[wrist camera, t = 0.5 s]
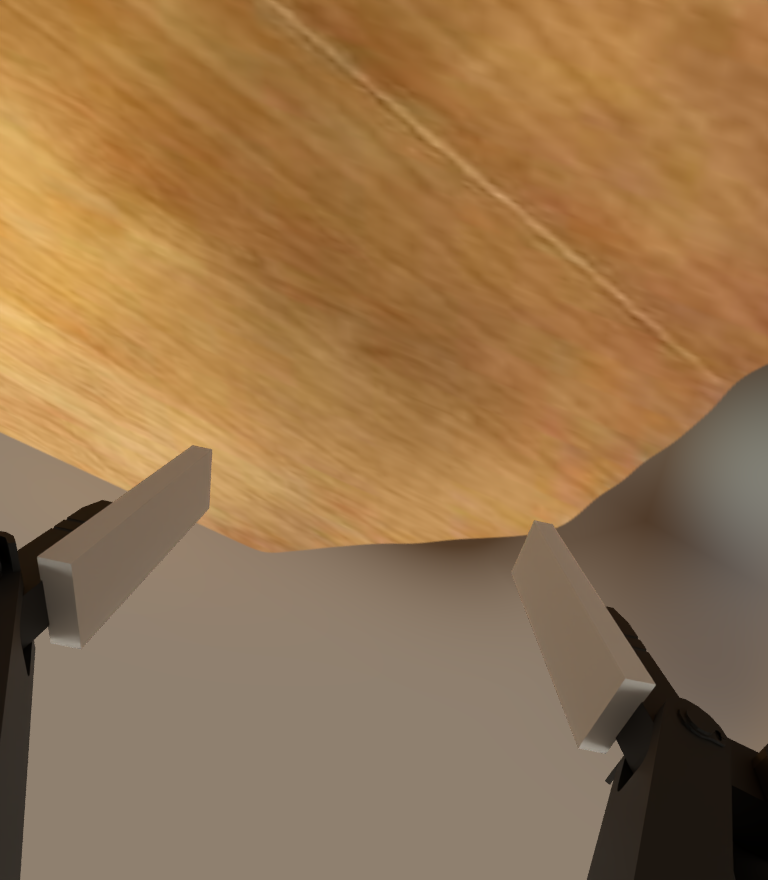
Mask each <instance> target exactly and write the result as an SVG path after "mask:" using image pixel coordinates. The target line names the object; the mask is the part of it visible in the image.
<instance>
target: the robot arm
mask: <svg viewBox="0 0 768 880" xmlns="http://www.w3.org/2000/svg"><path fill="white" fill-rule="evenodd" d="M211 462H212V449H208V448H203V447H199V446H194V445H192V446H191V447H190V448H188V449H187V450H185V451H184V452H183V453H181V454H180V455H178V456H177V457H176V458H174V459H173V460H171V461H170V462H169V463H167V464H166V465H164V466H163V467H162V468H160V469H159V470H157V471H156V472H155V473H153V474H152V475H150V476H149V477H148V478H146V479H145V480H143V481H142V482H141V483H139V484H138V485H136V486H135V487H134V488H132V489H131V490H129V491H128V492H127V493H125V494H124V495H123V496H121V497H120V498H118V499H117V500H116V501H114V502H109V501H104V500H101V501H99V502H96V503H93V504H91V505H88V506H85V507H83V508H81V509H79V510H78V511H77V512H75V513H74V514H72V515H71V516H69V517H67V520H63V521H62V522H60V523H58V524H57V525H55V526H54V528H53V529H52V528H51V529H50V530H48V531H47V532H45V533H43V534H42V535H40V536H39V537H37V538H36V539H34V540H33V541H32V542H30V543H28V544H27V545H25V546H24V547H22V548H21V549H19V550H18V551H17V547H16V542H15V539H14V536H13V535H11V534H9V533H7V532H2V531H0V880H20V871H21V857H22V842H23V827H24V810H25V796H26V781H27V766H28V751H29V736H30V720H31V705H32V689H33V675H34V660H35V645H34V639H35V638H36V637H37V636H38V635H39V634H40V633H42V632H43V631H44V630H45V629H46V628H47V627H48V629H49V635H50V641H51V643H53V644H58V645H63V646H68V647H73V648H78V649H82V648H83V647H84V645H85V644H86V643H87V642H88V641H89V640H90V639H91V638H92V637H93V636H94V635H95V633H96V632H97V631H98V630H99V629H100V628H101V627H102V626H103V625H104V624H105V622H106V621H107V620H108V619H109V618H110V617H111V616H112V615H113V613H115V611H116V610H117V609H118V608H119V607H120V606H121V605H122V604H123V603H124V601H125V600H126V599H127V598H128V597H129V596H130V595H131V594H132V593H133V592H134V591H135V589H136V588H137V587H138V586H139V585H140V584H141V583H142V582H143V581H144V580H145V578H146V577H147V576H148V575H149V574H150V573H151V572H152V571H153V569H155V567H156V566H157V565H158V564H159V563H160V562H161V561H162V560H163V559H164V557H165V556H166V555H167V554H168V553H169V552H170V551H171V550H172V549H173V547H175V545H176V544H177V543H178V542H179V541H180V540H181V539H182V538H183V537H184V536H185V534H186V533H187V532H188V531H189V530H190V529H191V528H192V527H193V526H194V524H195V523H196V522H197V521H198V520H199V519H200V518H201V517H202V516H203V515H204V513H205V512H206V511H207V510H208V509H209V501H210V482H211ZM511 575H512V577H513V580H514V582H515V585H516V587H517V590H518V593H519V596H520V598H521V601H522V603H523V606H524V609H525V611H526V614H527V616H528V619H529V621H530V624H531V627H532V629H533V632H534V635H535V637H536V639H537V642H538V645H539V647H540V650H541V653H542V655H543V658H544V660H545V663H546V666H547V668H548V671H549V673H550V676H551V679H552V681H553V684H554V687H555V689H556V692H557V694H558V697H559V700H560V702H561V705H562V708H563V710H564V713H565V715H566V718H567V720H568V723H569V726H570V728H571V731H572V734H573V736H574V739H575V741H576V744H577V747H578V748H580V749H585V750H590V751H595V752H600V753H607V751H608V750H609V748H610V747H611V746H612V744H613V743H614V742H615V740H617V742H618V744H619V746H620V748H621V750H622V752H623V754H624V756H623V757H622V759H621V760H620V762H619V763H618V764H617V765H616V767H615V768H614V769H613V771H612V772H611V773H610V775H609V776H608V777H607V779H606V780H605V781H606V782H607V783H608V784H611V782H612V781H613V784H612V788H611V792H610V796H609V799H608V803H607V807H606V810H605V814H604V818H603V821H602V825H601V829H600V833H599V836H598V840H597V844H596V848H595V851H594V855H593V859H592V863H591V866H590V870H589V874H588V878H587V880H768V744H767V745H766V746H765V747H764V748H763V749H762V750H761V751H760V752H759V753H758V752H756V751H754V750H752V749H750V748H748V747H745V746H744V745H741V744H739V743H737V742H735V741H733V740H731V739H729V738H727V736H726V735H725V733H724V732H723V730H722V729H721V727H720V726H719V725H718V724H717V723H716V722H715V721H714V720H713V719H712V718H711V717H710V716H709V715H708V714H707V713H706V712H704V711H703V710H702V709H701V708H699V707H698V706H696V705H695V704H693V703H691V702H689V701H688V700H686V699H682V698H679V696H678V695H677V693H676V692H675V690H674V689H673V688H672V686H671V685H670V683H669V682H668V680H667V679H666V677H665V676H664V674H663V673H662V671H661V670H660V668H659V667H658V666H657V664H656V663H655V661H654V660H653V658H652V657H651V655H650V654H649V653H648V652H646V648H645V646H644V645H643V644H642V642H641V641H640V640H638V636H637V635H636V633H635V632H634V630H633V629H632V628H631V626H630V625H629V623H628V622H627V621H626V620H625V619H624V618H623V617H622V616H621V615H620V614H619V613H618V612H617V611H616V610H615V609H614V608H611V607H606V606H605V605H604V604H603V602H602V600H601V599H600V597H599V596H598V594H597V593H596V591H595V590H594V588H593V586H592V585H591V583H590V582H589V580H588V579H587V577H586V576H585V574H584V573H583V571H582V569H581V568H580V566H579V565H578V563H577V562H576V560H575V559H574V557H573V555H572V554H571V552H570V551H569V549H568V548H567V546H566V545H565V543H564V542H563V540H562V538H561V537H560V536H559V534H558V532H557V531H556V529H555V528H554V526H553V524H548V523H544V522H539V521H535V520H534V522H533V524H532V527H531V529H530V531H529V533H528V536H527V538H526V540H525V542H524V545H523V547H522V549H521V552H520V554H519V556H518V558H517V561H516V563H515V565H514V567H513V570H512V572H511Z"/></svg>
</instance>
